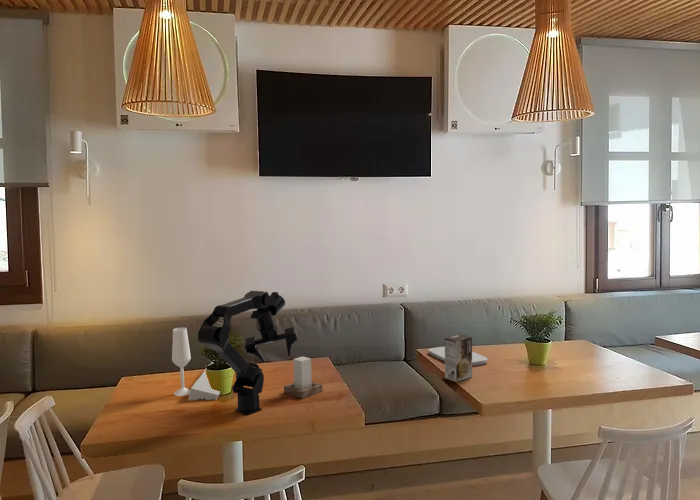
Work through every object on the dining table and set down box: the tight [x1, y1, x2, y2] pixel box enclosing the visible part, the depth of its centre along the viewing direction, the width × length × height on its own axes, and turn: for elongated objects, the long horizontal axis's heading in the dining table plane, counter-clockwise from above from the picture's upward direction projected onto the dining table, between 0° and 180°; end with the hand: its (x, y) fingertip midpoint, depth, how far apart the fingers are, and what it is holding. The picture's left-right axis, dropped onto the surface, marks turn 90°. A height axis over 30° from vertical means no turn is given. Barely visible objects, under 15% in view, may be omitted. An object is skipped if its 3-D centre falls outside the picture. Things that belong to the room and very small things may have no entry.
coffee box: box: [444, 333, 473, 383], centre depth 219 cm, size 9×6×16 cm
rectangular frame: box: [283, 381, 323, 400], centre depth 207 cm, size 10×10×2 cm
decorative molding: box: [188, 361, 221, 401], centre depth 218 cm, size 34×5×10 cm
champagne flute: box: [171, 327, 192, 397], centre depth 208 cm, size 7×7×24 cm
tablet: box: [428, 345, 489, 367], centre depth 246 cm, size 16×26×2 cm, turn 22°
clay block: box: [293, 356, 313, 390], centre depth 207 cm, size 4×4×12 cm
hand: (276, 359), depth 205 cm, fingers open, 9 cm apart
